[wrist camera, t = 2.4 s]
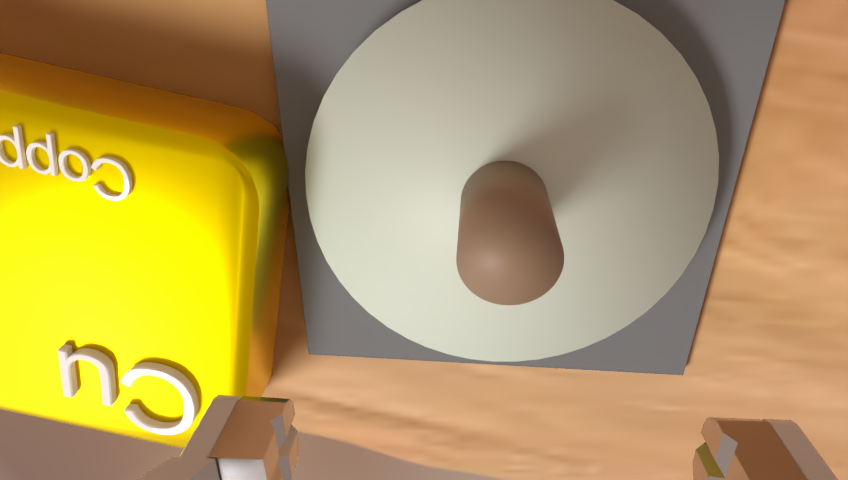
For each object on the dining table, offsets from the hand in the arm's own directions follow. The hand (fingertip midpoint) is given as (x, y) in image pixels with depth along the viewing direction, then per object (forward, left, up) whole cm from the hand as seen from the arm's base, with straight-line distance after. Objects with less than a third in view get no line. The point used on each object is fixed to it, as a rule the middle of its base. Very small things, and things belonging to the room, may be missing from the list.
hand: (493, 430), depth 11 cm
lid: (-1, 0, -12) cm, 12 cm away
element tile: (+16, +3, -13) cm, 21 cm away
